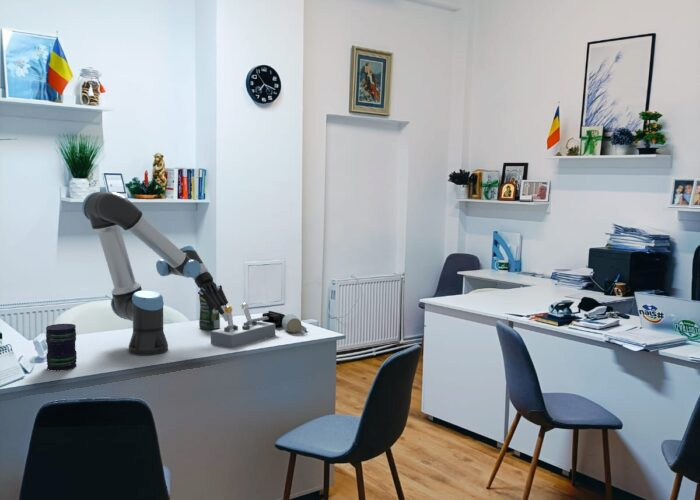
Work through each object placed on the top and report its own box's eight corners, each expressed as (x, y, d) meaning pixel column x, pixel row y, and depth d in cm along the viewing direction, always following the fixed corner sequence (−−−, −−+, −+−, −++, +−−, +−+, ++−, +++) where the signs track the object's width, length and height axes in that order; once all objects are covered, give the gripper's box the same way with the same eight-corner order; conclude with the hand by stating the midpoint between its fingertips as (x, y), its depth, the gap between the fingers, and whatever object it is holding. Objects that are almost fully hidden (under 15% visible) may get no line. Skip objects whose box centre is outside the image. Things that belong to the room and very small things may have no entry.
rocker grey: (251, 321, 279) (251, 318, 279) (258, 320, 283) (257, 317, 283) (262, 320, 275) (261, 317, 276) (268, 318, 279) (268, 315, 279)
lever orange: (225, 330, 263) (222, 306, 263) (231, 329, 266) (228, 305, 266) (231, 330, 261) (227, 306, 261) (237, 328, 264) (233, 305, 264)
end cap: (286, 326, 297) (286, 313, 297) (274, 329, 292) (274, 314, 292) (273, 323, 304) (273, 309, 304) (261, 325, 299) (261, 311, 299)
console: (210, 343, 263) (210, 327, 262) (255, 331, 286) (255, 316, 285) (231, 347, 256) (231, 331, 255) (275, 335, 279) (275, 320, 279)
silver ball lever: (245, 326, 273) (238, 304, 274) (251, 325, 276) (244, 303, 277) (250, 324, 271) (243, 302, 273) (256, 322, 274) (249, 301, 276)
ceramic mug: (287, 334, 282) (287, 317, 281) (281, 330, 289) (282, 314, 289) (309, 332, 286) (309, 316, 286) (303, 329, 294) (303, 313, 293)
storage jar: (49, 372, 217) (48, 330, 215) (44, 366, 225) (43, 325, 223) (79, 368, 223) (78, 327, 221) (73, 362, 231) (72, 322, 229)
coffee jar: (196, 328, 291) (196, 288, 289) (209, 325, 297) (209, 287, 295) (209, 331, 285) (209, 291, 283) (222, 328, 291) (222, 289, 289)
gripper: (208, 279, 280) (235, 321, 274) (185, 283, 268) (213, 327, 262) (217, 269, 277) (244, 311, 270) (194, 272, 265) (222, 317, 258)
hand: (229, 319), depth 266 cm, fingers closed
